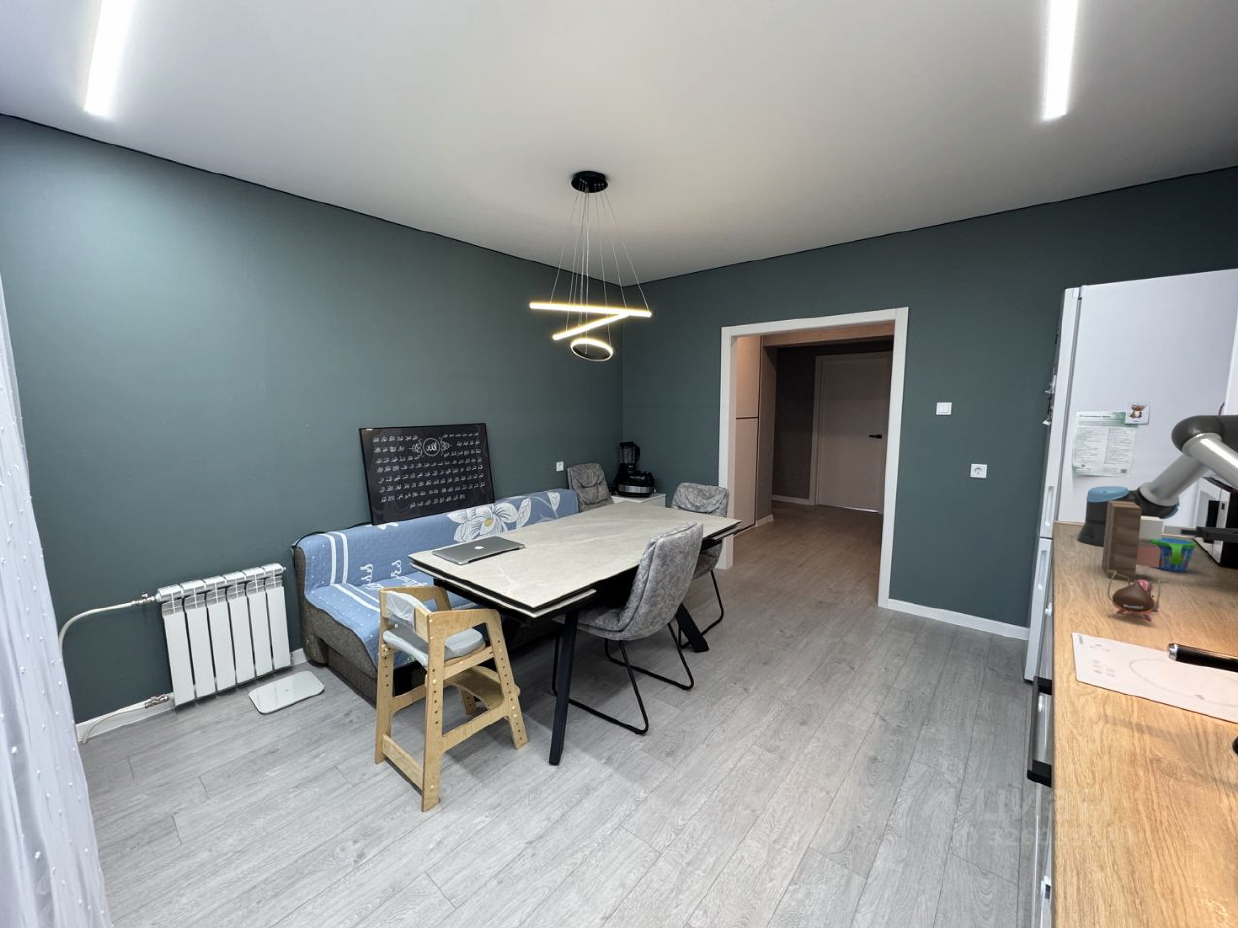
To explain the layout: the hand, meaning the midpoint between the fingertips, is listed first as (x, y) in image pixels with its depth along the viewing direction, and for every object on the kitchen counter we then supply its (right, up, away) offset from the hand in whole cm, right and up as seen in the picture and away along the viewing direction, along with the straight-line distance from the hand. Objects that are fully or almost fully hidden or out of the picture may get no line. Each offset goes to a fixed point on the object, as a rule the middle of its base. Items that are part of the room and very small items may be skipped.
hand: (1164, 529), depth 156 cm
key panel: (-7, -16, +8) cm, 19 cm away
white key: (-3, -3, +2) cm, 5 cm away
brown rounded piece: (-34, -20, -23) cm, 45 cm away
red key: (-3, -12, +3) cm, 12 cm away
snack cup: (+16, -16, +12) cm, 25 cm away
